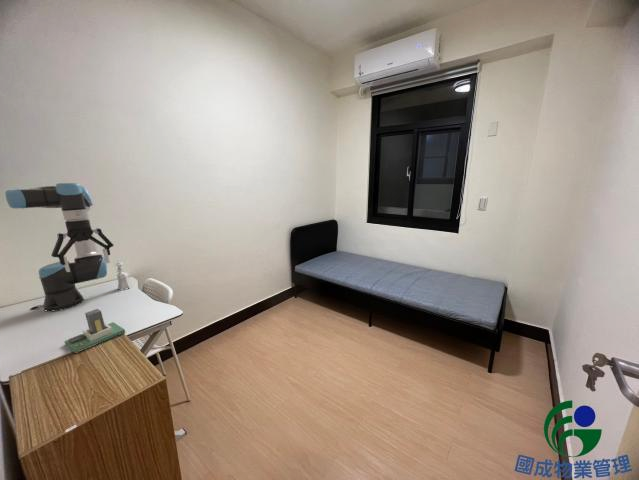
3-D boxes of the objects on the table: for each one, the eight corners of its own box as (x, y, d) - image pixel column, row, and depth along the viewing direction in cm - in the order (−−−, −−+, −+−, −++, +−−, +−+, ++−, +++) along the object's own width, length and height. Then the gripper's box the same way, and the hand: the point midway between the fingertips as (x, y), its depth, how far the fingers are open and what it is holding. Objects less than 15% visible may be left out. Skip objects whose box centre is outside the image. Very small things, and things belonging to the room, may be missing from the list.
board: (65, 344, 99) (63, 336, 98) (113, 325, 112) (112, 317, 112) (75, 354, 93) (72, 345, 92) (125, 332, 106) (123, 324, 105)
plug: (90, 334, 103) (84, 313, 100) (102, 330, 106) (97, 308, 104) (94, 338, 100) (88, 315, 98) (107, 333, 103) (101, 311, 101)
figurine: (116, 288, 154) (109, 261, 150) (131, 284, 160) (126, 257, 156) (118, 291, 150) (112, 263, 146) (134, 287, 156) (129, 259, 152)
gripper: (36, 224, 94) (51, 277, 99) (115, 216, 114) (125, 260, 119) (31, 223, 98) (46, 274, 103) (109, 215, 118) (118, 258, 123)
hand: (88, 266), depth 111 cm, fingers open, 13 cm apart
